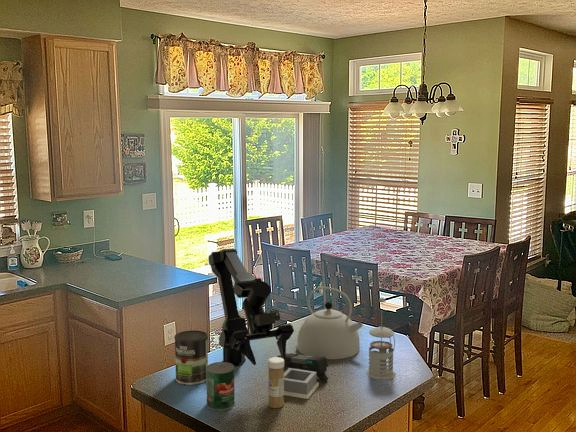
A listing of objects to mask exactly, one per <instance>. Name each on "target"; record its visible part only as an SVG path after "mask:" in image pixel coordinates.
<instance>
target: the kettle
mask: <svg viewBox="0 0 576 432" xmlns="http://www.w3.org/2000/svg"><path fill="white" fill-rule="evenodd" d="M319 290H330V291H334V292H337V293H340V295H343V297H345V298H346V300H347V301H348V304H349V312H348V314H347V315H346V314H344V313H343V312H342V311H339V310H336V309H332V308H333V304H332V302H331V301H326V302H325V304H324V307H325V308H324V309H320V310H317V311H315V312H314V311H313V310H312V307H311V304H310V302H311V297H312V295H313V293H315V292H317V291H319ZM307 307H308V310H309V312H310V315H308V317H306V319H305V320H304V321H303V322H302V324H301V325H300V327H299V331H298V334H297V345H296V350H297V351H298V352H299V353H300V354H301V355H305V356H318V357H325V358H327V360H339V359H345V358H349V357H353V356H355V355H357V354H358V353H359V352H360V350H361V348H360V347H361V346H360V336H359V331H358V330H360V329H361V328H362V327H363V326H364V324H363V323H361V322H360V321H357V322H353V321H352V319H351V318H350V317H351V316H352V312H353V305H352V301H351V299H350V298H349V296H348V295H347V294H346V293H345V292H343V291H342V290H340V289H337V288H335V287H334V288H333V287H329V286H318V287H316V288H314V289H312V290H311V291H310V292H309V295H308V298H307Z"/></svg>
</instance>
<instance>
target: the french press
mask: <svg viewBox="0 0 576 432" xmlns="http://www.w3.org/2000/svg"><path fill="white" fill-rule="evenodd" d="M378 302H380V303H385V302H386V299H385V297H380V298H379V299H378ZM380 314H381V321H380V326H377V327H373V328H371V329H369V330H368V333H369V335H371V337H375V338H380V340H375V341H371V342H370V343H369V345H370V346H369V347H368V368H367V370H365V375H366V374H367V375H366V376H367V377H369V378H371V379H375V380H380V379H381V380H382V379H383V380H391V379H393V378H394V379H395V377H396V376H397V373H396V372H395V371H394V351H395V346H396V339H395V336H394V335H395V332H394V331H393V330H392V329H390V328H388V327H387V326H386V327H385V326H383V311H381V313H380ZM392 337H393V343H394V344H393V343H391V342H392V341H391V340H392V339H391V338H392ZM384 338H387V339H389V341H385V340H382V339H384ZM373 349H374V350H373ZM383 380H382V381H383Z"/></svg>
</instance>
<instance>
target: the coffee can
mask: <svg viewBox="0 0 576 432" xmlns="http://www.w3.org/2000/svg"><path fill="white" fill-rule="evenodd" d="M208 337H209V334H208V333H207V332H206V331H203V330H194V329H193V330H184V331H181V332H177V333H176V334H175V335H174V355H175V358H174V359H175V381H176V382H177V383H178V384H180V385H184V384H185V385H184V386H194V385H199V384H203V383H205V382H207V380H206V379H207V378H206V376H207V375H206V367H207V366H208V365H209V363H208V362H209V361H208V360H209V357H208V356H209V353H208V352H209V350H208V346H209V345H208V342H209V341H208V339H209V338H208Z"/></svg>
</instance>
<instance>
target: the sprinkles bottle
mask: <svg viewBox="0 0 576 432" xmlns="http://www.w3.org/2000/svg"><path fill="white" fill-rule="evenodd" d="M267 367H268V391H267V392H268V403H267V406H268V407H270V408H272V409H280V408H282V407H284V406H285V402H284V401H285V398H284V396H285V395H284V372H285V371H284V369H285V366H284V359H283V358H280V357H277V356H274V357H270V358H269V359H268V360H267Z"/></svg>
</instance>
